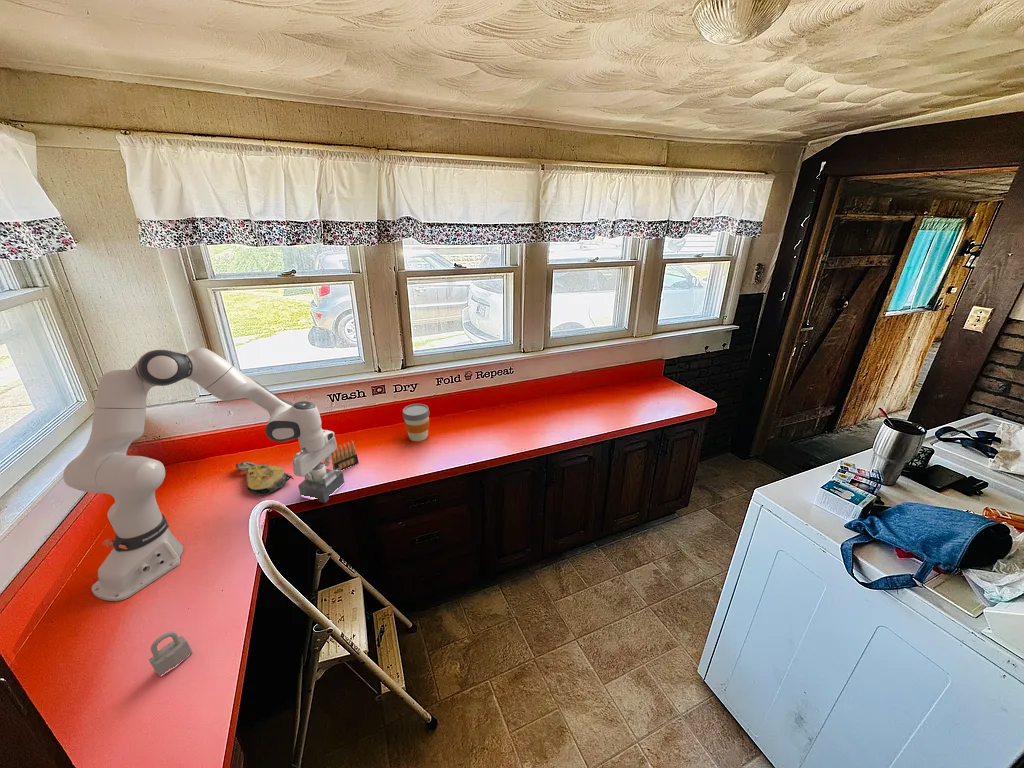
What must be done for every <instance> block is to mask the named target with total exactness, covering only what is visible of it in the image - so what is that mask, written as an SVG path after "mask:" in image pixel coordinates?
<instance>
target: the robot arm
mask: <svg viewBox="0 0 1024 768" xmlns="http://www.w3.org/2000/svg"><path fill="white" fill-rule="evenodd" d="M184 379H187V380H190V381H193V382H194V383H196V384H197V385H198V386H200V387H201V388H202V389H203V390H205V391H206V392H207V393H209V394H210V395H212V396H213V397H215V398H217V399H219V400H221V401H234V400H239V399H248V400H250V401H251V402H253V403H255V404H256V405H258V406H259V407H261V408H262V409H264V410H266V411H267V412H268V414H269V419H268V420H267V422H266V425H265V429H264V433H265V435H266V437H267V438H268V439H269V440H270V441H273V442H276V443H285V442H289V441H293V440H296V439H298V444H299V448H300V450H299V451H298V452H296V453H295V454H294V456H293V458H292V470H293V471H292V472H293V474H294V476H297V477H301V478H302V477H304V476H307V479H308V480H312V479H313V478H314V477H313V474H309V473H310V471H311V470H312V469H313V468H314V467H316V466H317V465H318V464H319V463H321V462H322V463H324V464H325V467H328V466H330V465H331V462H330V461H331V459H332V455H331V453H333V452H334V453H335V450H336V448H337V449H338V444H337V440H336V437H335V432H334V431H332V430H328V429H323V428H322V419H321V415H320V411H319V409H318V407H317V405H316V404H314V402H310V401H307V400H306V401H305V400H304V401H303V400H301V401H297V402H295V403H293V402H290V401H288V400H285V399H282V397H281V398H280V397H279V396H278V395H276V394H275V393H273V392H272V391H271V390H269V389H268V388H266V387H265V386H264V385H262V384H261V383H259V382H257V381H256V380H255V379H252V378H251V377H249V376H247V375H246V374H244V373H243V372H241V370H239V369H238V368H236V367H235V366H234V365H233V364H232V363H230V362H229V361H228V360H226V359H225V358H223V357H222V356H220V355H219V354H217V353H216V352H214V351H212V350H210V349H208V348H206V347H197V348H193V349H191V350H190V351H188V352H187V353H182V352H181V353H180V352H176V351H171V350H168V349H167V350H166V349H154V350H150V351H147V352H145V353H144V354H142V355H141V356H140V357H139V359H138V360H137V361H136V363H135V364H134V365H133V366H132V367H131V368H129V369H114V370H111V371H107V372H106V373H104V374H102V376H101V377H100V379H99V382H98V385H97V389H96V392H95V396H94V403H93V413H92V414H93V416H92V423H91V424H92V425H91V431H90V434H89V438H88V441H87V443H86V445H85V446H84V448H83V449H82V452H80V453H79V455H78V456H77V457H75V458H74V459H72V460H71V461H70V462H69V463H67V465H66V466H65V468H64V471H63V475H62V476H63V477H62V478H63V481H64V483H65V484H66V486H68V487H69V488H71V489H75V490H78V491H81V492H85V493H95V494H97V493H98V494H107V495H110V496H111V497H112V499H114V503H113V504H112V505H111V506H110V508H109V509H108V511H107V519H108V520H109V523H110V525H111V526H112V528H113V531H114V533H115V534H114V540H113V539H110V538H106V539H104V540H103V541H102V545H103V547H107V548H111V547H113V548H112V549H111V551H110V553H109V554H108V555H107V556H106V558H105V559H104V561H103V562H102V563H101V565H100V566H99V567H98V569H97V579H98V580H97V581H95V583H93V584H92V586H91V592H92V594H93V595H94V596H95V597H96V598H98V599H100V600H102V601H103V600H104V601H110V602H111V601H112V602H119V601H123V600H126V599H128V598H130V597H131V596H133V595H134V594H136V593H137V592H139V591H140V590H142V589H144V588H145V587H147V586H149V585H150V584H151V583H153V582H155V581H156V580H158V579H159V578H161V577H162V576H163V575H165V574H166V573H169V572H170V571H172V570H173V569H174V568H176V567H178V566H179V565H180V563H181V556H182V554H183V552H184V545H183V543H181V542H180V541H178V539H177V538H176V537H175V535H173V534H172V531H171V530H170V528H169V527H170V526H169V522H168V520H167V519H166V517H165V515H164V514H163V513H162V512H161V510H160V508H159V504H158V503H157V499H156V490H157V489H159V487H161V485H162V484H163V482H164V481H165V480H164V479H165V478H166V469H165V466H164V464H163V462H161V461H160V460H157V459H154V458H150V457H147V456H142V455H127V452H128V449H129V447H130V446H131V444H132V443H133V442H134V441H135V440H138V439H139V438H140V437H142V436H143V434H144V432H145V425H146V424H145V422H146V410H147V396H148V394H149V391H150V390H151V389H152V388H154V387H166V386H170V385H174V384H175V383H178V382H180V381H182V380H184Z"/></svg>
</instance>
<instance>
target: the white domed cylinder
mask: <svg viewBox="0 0 1024 768" xmlns="http://www.w3.org/2000/svg"><path fill="white" fill-rule="evenodd" d="M326 469H327V468H326V466H325V464H324V462H323V461H322V462H321V463H319V464H318V465H317V466H316V467H314V468H313V469H312V470H311V471H312V474H313V477H314V478H313V480H314V481H315V482H321V481H322V478H323V477H324V476H325V475H326V474H327V473H326Z"/></svg>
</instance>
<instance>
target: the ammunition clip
mask: <svg viewBox="0 0 1024 768" xmlns="http://www.w3.org/2000/svg"><path fill="white" fill-rule="evenodd" d="M350 441H351V442H350V443H349V441H347V442H346V444H345V443H342V445H341V444H339V447H337V448H336V450H335V451H334V452H333V453H331V462H332V463H331V464H332V469H333V470H335V469H336V468H340V470H343V469H345V470H347V469H348V467H350V466H352V467H354V466H356V465H359V463H360V462H359V458H358V454H357V451H356V447H355V443H354V441H353V440H350ZM355 464H356V465H355ZM353 465H354V466H353ZM346 468H347V469H346ZM350 468H351V467H350ZM343 471H344V470H343Z"/></svg>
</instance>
